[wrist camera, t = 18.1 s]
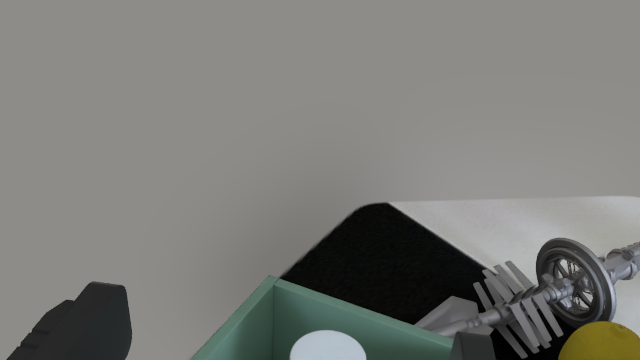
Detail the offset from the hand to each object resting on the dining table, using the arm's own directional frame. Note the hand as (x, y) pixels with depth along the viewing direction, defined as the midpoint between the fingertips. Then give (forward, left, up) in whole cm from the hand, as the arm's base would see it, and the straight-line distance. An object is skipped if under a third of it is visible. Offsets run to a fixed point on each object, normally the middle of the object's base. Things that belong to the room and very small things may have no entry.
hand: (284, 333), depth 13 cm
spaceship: (+9, +33, -22) cm, 41 cm away
